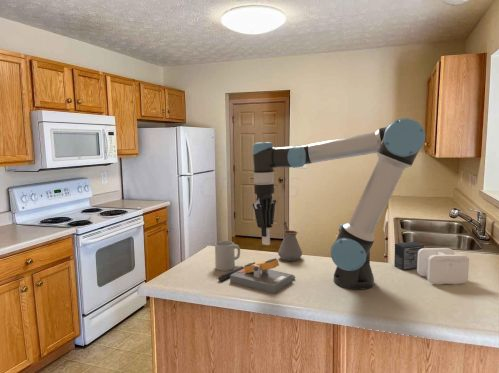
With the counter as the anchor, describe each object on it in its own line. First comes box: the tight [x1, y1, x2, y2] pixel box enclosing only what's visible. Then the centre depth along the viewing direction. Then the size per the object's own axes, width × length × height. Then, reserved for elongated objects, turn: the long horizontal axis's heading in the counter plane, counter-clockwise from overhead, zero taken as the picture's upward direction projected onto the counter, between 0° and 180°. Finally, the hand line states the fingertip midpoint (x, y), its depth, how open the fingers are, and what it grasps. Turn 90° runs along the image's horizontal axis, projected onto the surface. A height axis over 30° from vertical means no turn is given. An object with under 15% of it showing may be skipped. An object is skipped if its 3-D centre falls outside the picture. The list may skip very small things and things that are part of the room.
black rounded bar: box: [217, 265, 244, 282], centre depth 150 cm, size 2×16×2 cm, turn 145°
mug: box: [214, 240, 241, 272], centre depth 161 cm, size 12×8×11 cm
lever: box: [243, 257, 280, 273], centre depth 142 cm, size 14×4×3 cm, turn 55°
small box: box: [393, 241, 425, 272], centre depth 158 cm, size 11×6×10 cm, turn 106°
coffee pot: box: [277, 220, 303, 262], centre depth 176 cm, size 21×12×15 cm, turn 4°
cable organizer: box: [416, 247, 470, 286], centre depth 142 cm, size 15×11×12 cm
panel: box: [229, 260, 293, 295], centre depth 142 cm, size 20×14×8 cm
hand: (266, 244), depth 140 cm, fingers closed
